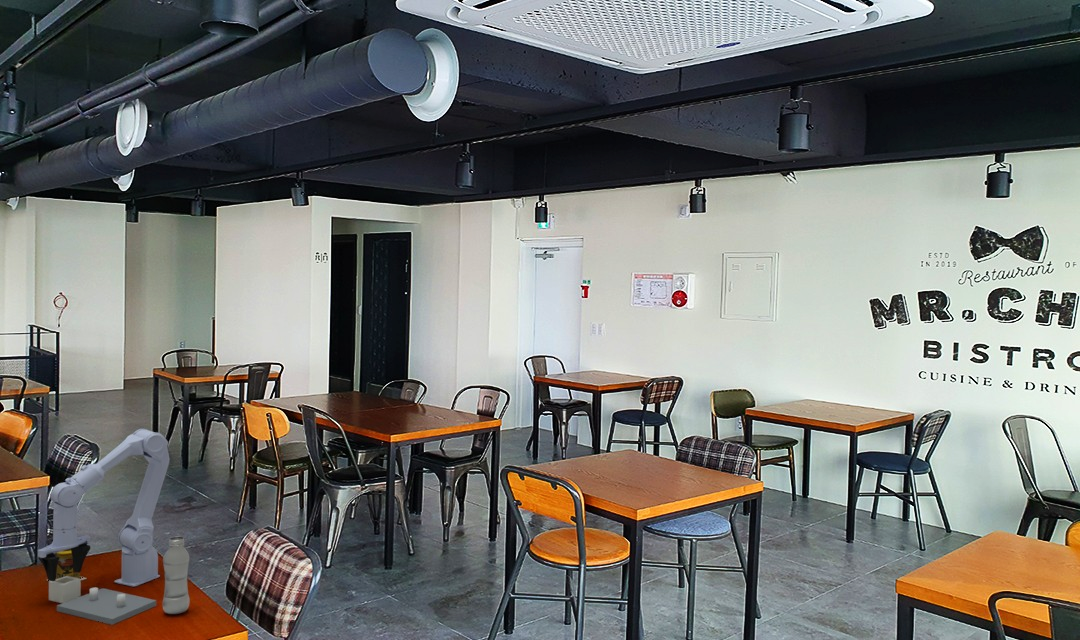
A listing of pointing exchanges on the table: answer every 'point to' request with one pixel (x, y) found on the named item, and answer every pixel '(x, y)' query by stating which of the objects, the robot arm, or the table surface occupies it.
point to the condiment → (66, 565)
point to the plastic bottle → (176, 577)
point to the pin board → (106, 606)
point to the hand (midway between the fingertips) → (64, 576)
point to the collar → (64, 589)
